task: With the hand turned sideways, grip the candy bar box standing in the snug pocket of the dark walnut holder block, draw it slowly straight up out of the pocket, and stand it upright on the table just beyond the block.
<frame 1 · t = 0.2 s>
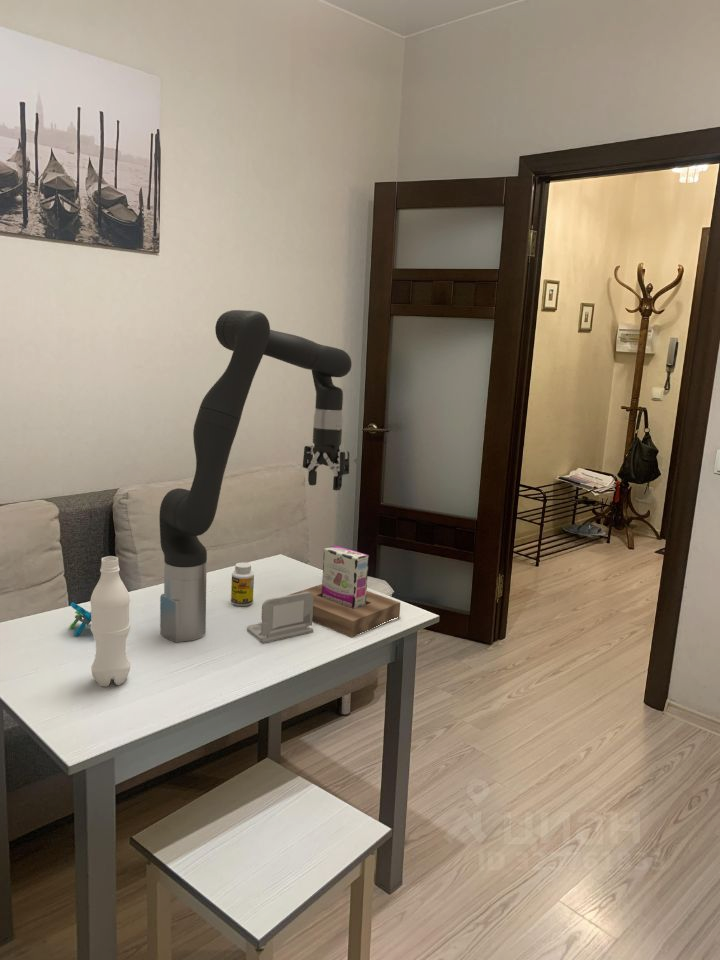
hand: (324, 487, 195), 28 cm above the table, tool pointing down, fingers open, 8 cm apart
walnut holder block: (342, 614, 185), on the table
candy bar box: (342, 614, 185), resting in walnut holder block
water bottle: (111, 681, 144), on the table
handheld gaming console: (278, 632, 172), on the table
blue green plastic toy: (88, 632, 166), on the table
supplement bottle: (242, 603, 188), on the table
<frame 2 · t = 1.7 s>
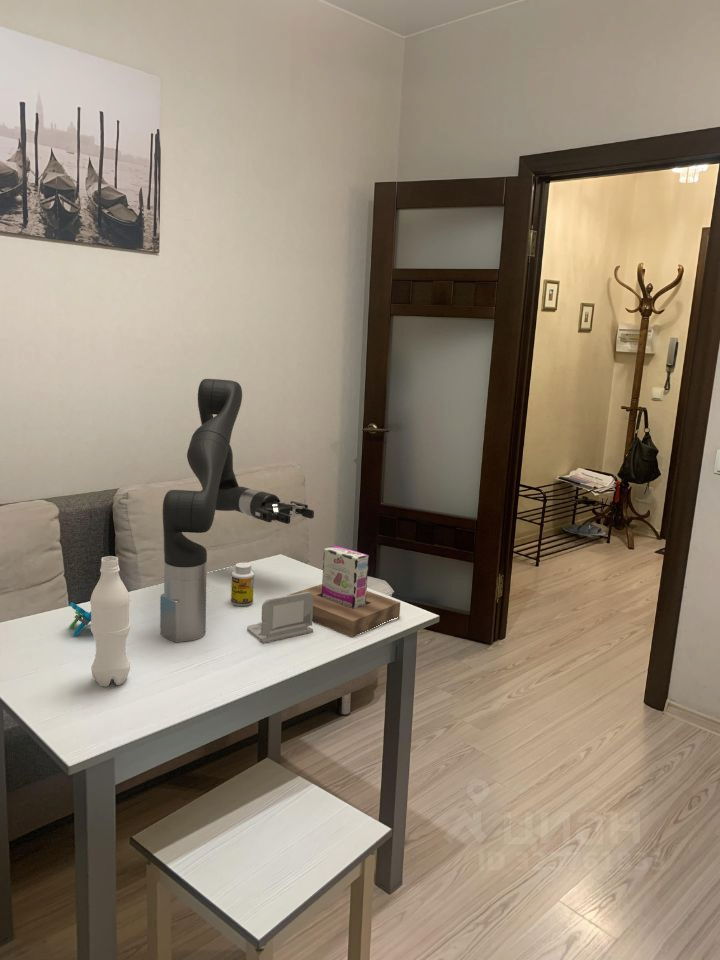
hand: (301, 517, 191), 22 cm above the table, tool horizontal, fingers open, 8 cm apart
nothing on the table moved.
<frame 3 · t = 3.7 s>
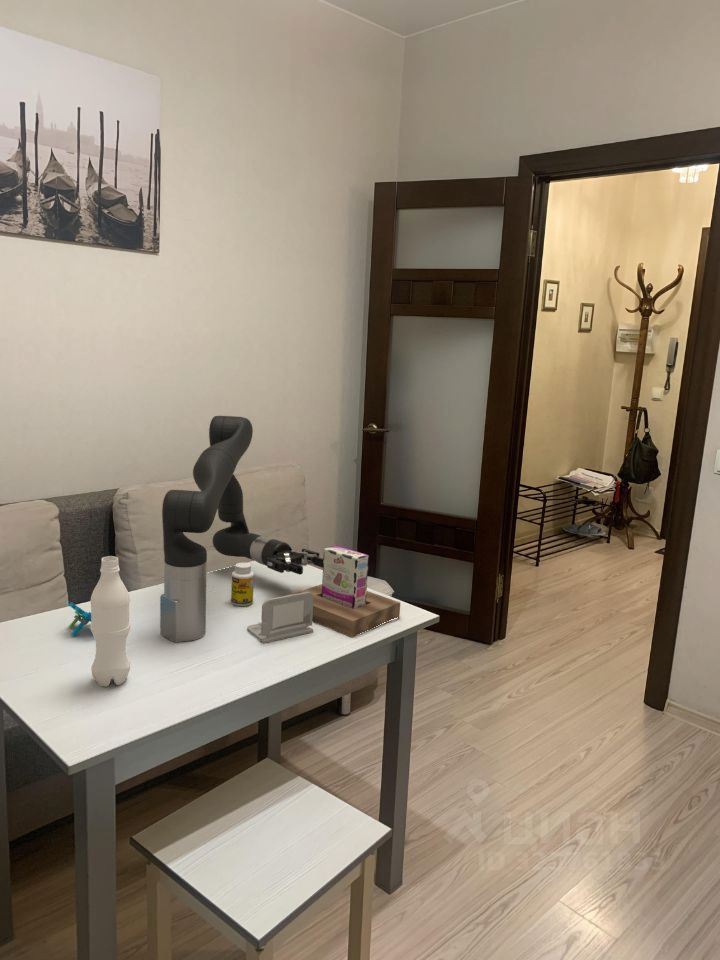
hand: (313, 567, 190), 10 cm above the table, tool horizontal, fingers open, 8 cm apart
nothing on the table moved.
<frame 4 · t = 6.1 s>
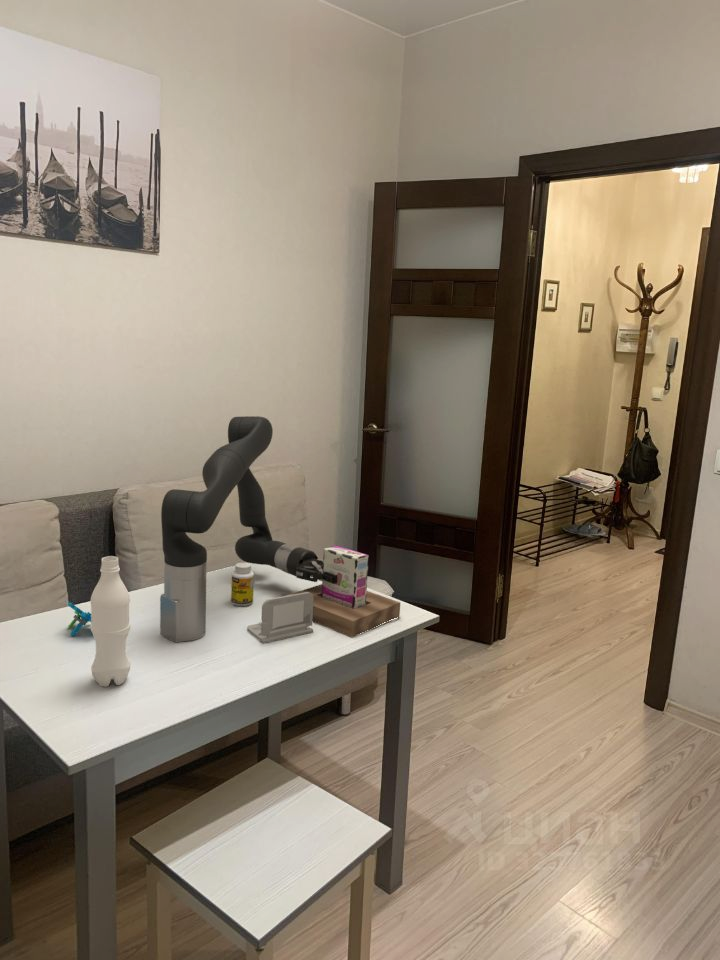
hand: (343, 577, 183), 10 cm above the table, tool horizontal, fingers closed on candy bar box, 5 cm apart
candy bar box: (342, 614, 185), resting in walnut holder block, touching gripper
everything else where it was.
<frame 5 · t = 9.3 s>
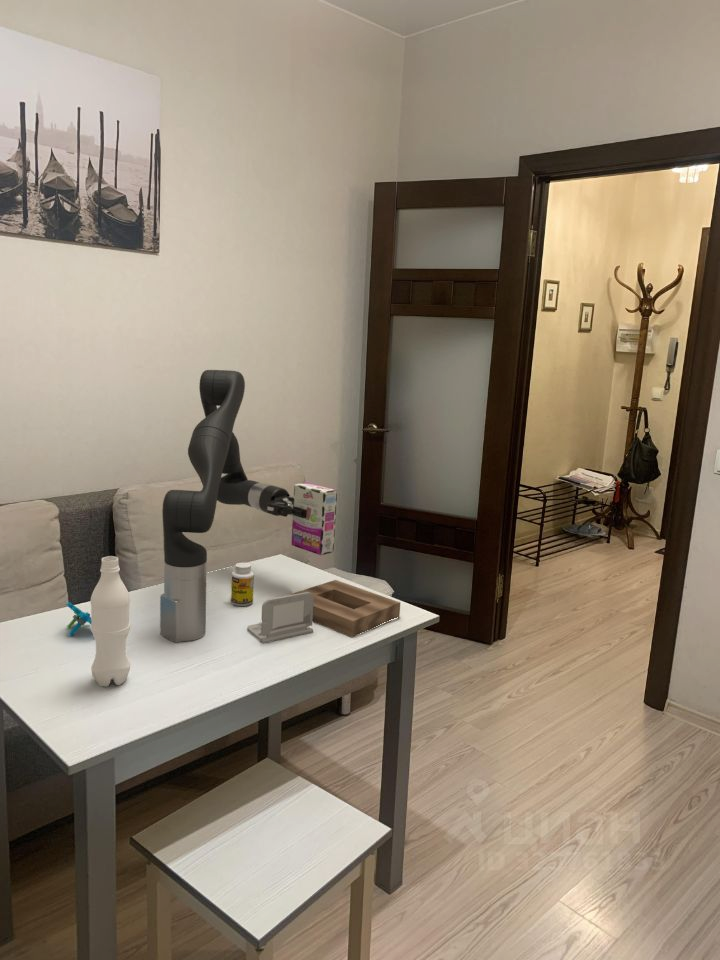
hand: (313, 512, 188), 24 cm above the table, tool horizontal, fingers closed on candy bar box, 5 cm apart
candy bar box: (312, 549, 189), point 14 cm above the table, touching gripper
everything else where it was.
when the fingers open (11 cm above the table, at t = 12.9 s): candy bar box drops 1 cm, on the table.
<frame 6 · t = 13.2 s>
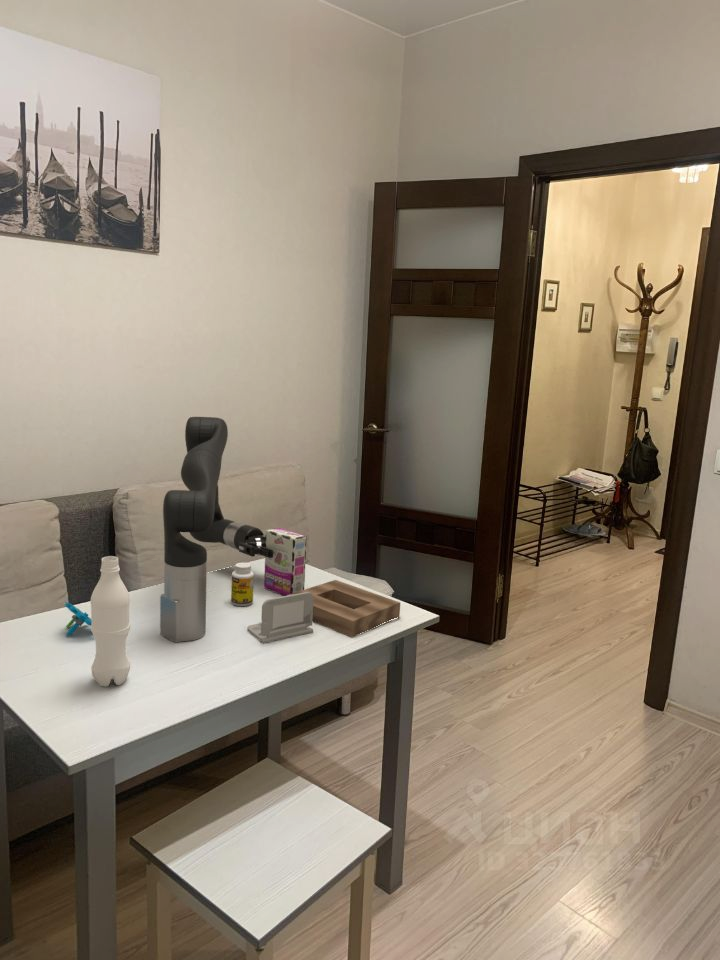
hand: (283, 551, 196), 11 cm above the table, tool horizontal, fingers open, 8 cm apart
candy bar box: (284, 592, 198), on the table
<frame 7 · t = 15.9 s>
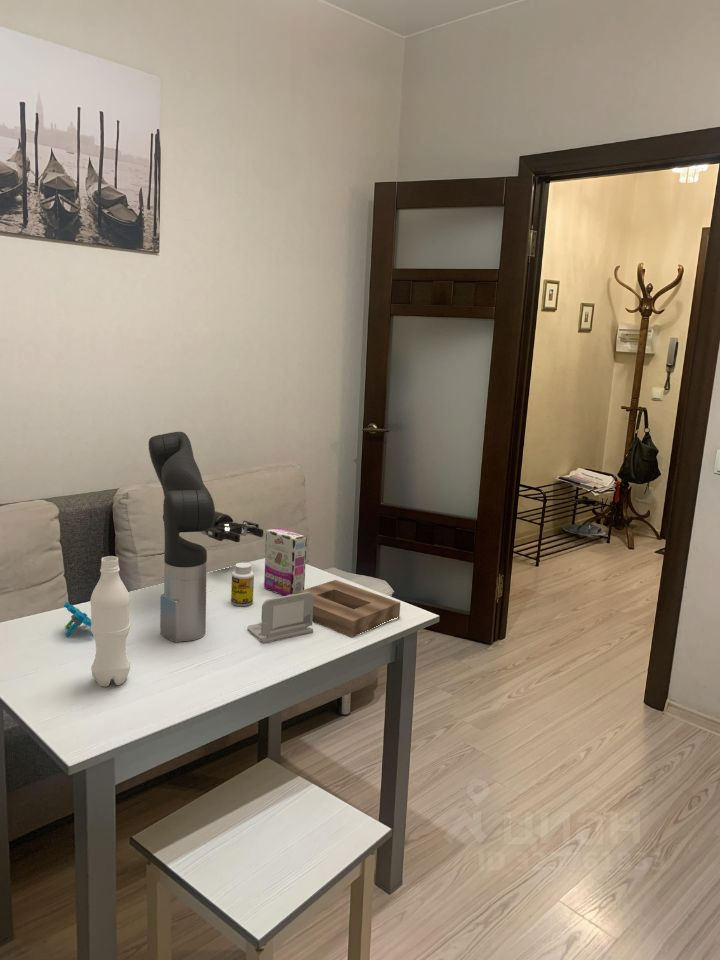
hand: (250, 536, 204), 12 cm above the table, tool horizontal, fingers open, 8 cm apart
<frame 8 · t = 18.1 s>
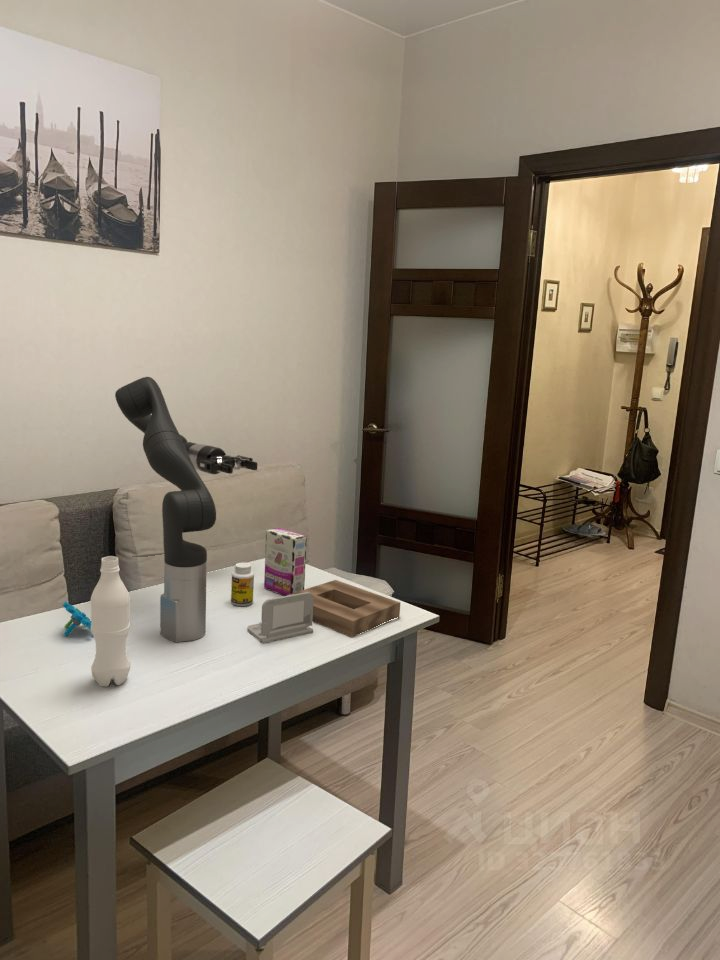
hand: (244, 468, 197), 32 cm above the table, tool horizontal, fingers open, 8 cm apart
at the end: candy bar box inside the target area (0.3 cm from its centre), on the table; candy bar box tilted 0°; the gripper is holding nothing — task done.
